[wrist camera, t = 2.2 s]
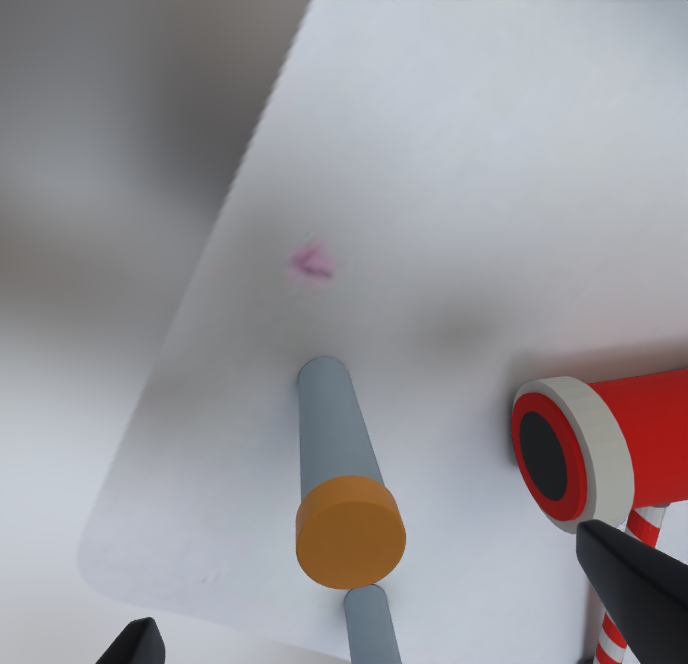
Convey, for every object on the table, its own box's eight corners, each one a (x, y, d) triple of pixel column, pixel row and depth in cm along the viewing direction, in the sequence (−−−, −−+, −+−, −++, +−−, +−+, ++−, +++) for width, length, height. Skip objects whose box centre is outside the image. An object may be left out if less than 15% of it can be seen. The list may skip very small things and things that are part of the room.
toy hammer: (674, 653, 28) (777, 776, 22) (504, 688, 28) (563, 826, 21) (731, 326, 21) (903, 376, 15) (506, 360, 21) (594, 427, 15)
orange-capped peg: (363, 390, 20) (423, 559, 11) (312, 416, 20) (328, 606, 11) (336, 343, 19) (377, 481, 10) (284, 370, 19) (274, 533, 10)
